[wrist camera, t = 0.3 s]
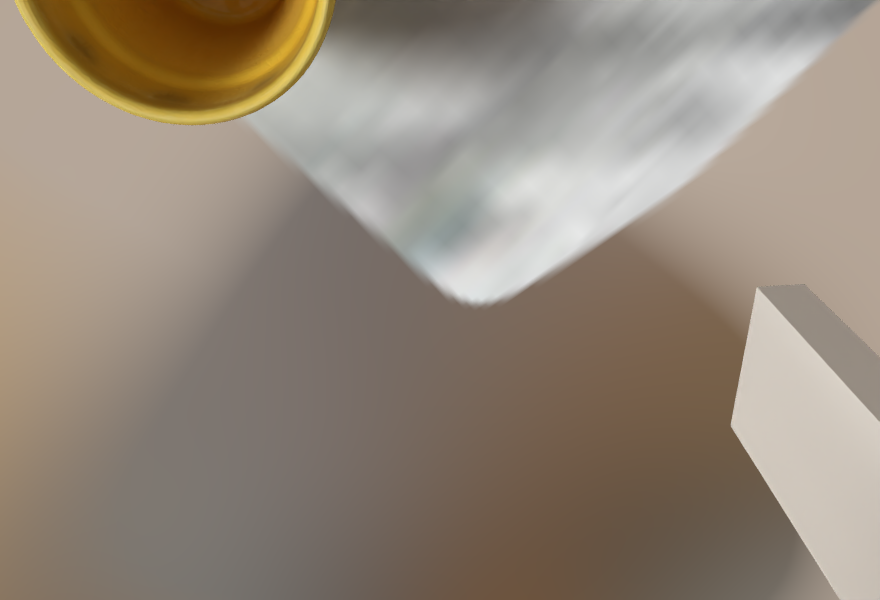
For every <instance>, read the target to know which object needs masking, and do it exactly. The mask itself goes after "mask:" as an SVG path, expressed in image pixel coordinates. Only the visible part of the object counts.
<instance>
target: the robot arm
mask: <svg viewBox="0 0 880 600" xmlns="http://www.w3.org/2000/svg"><path fill="white" fill-rule="evenodd" d="M731 427H732V428H733V430H734V432H735V433H736V435H737V436H738V438H739V439H740V441H741V443H742V444H743V446H744V448H745V449H746V451H747V452H748V454H749V456H750V457H751V459H752V460H753V462H754V463H755V465H756V467H757V468H758V470H759V471H760V473H761V475H762V476H763V478H764V479H765V481H766V482H767V484H768V486H769V487H770V489H771V491H772V492H773V494H774V495H775V497H776V499H777V500H778V502H779V503H780V505H781V507H782V508H783V510H784V511H785V513H786V515H787V516H788V517H789V519H790V521H791V523H792V524H793V526H794V527H795V529H796V530H797V532H798V534H799V535H800V537H801V538H802V540H803V541H804V543H805V545H806V546H807V548H808V549H809V551H810V553H811V554H812V556H813V557H814V559H815V561H816V562H817V564H818V566H819V567H820V569H821V570H822V572H823V574H824V575H825V577H826V578H827V580H828V581H829V583H830V584H831V586H832V588H833V589H834V591H835V593H836V594H837V596H838V597H839V599H840V600H880V357H879V356H878V355H877V354H876V353H875V352H874V351H873V350H872V349H871V348H870V347H868V345H867V344H866V343H865V342H864V341H862V340H861V339H860V338H859V337H858V336H857V335H856V334H855V333H854V332H853V331H852V330H851V329H850V328H849V327H848V326H847V325H846V324H845V323H844V322H843V321H841V319H840V318H839V317H838V316H837V315H835V313H834V312H833V311H832V310H831V309H829V308H828V307H827V306H826V305H825V304H824V303H823V302H822V301H821V300H820V299H819V298H818V297H817V296H816V295H815V294H814V293H813V292H812V291H811V290H810V289H809V288H808V287H807V286H806V285H805V284H800V285H782V286H766V287H757V290H756V295H755V301H754V306H753V311H752V316H751V321H750V327H749V332H748V337H747V342H746V348H745V353H744V358H743V363H742V369H741V374H740V380H739V385H738V390H737V395H736V400H735V406H734V411H733V416H732V421H731Z"/></svg>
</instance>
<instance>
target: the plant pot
mask: <svg viewBox="0 0 880 600" xmlns="http://www.w3.org/2000/svg"><path fill="white" fill-rule="evenodd" d="M335 1H336V0H15V3H16V5H17V7H18V9H19V11H20V13H21V15H22V17H23V18H24V20H25V22H26V24H27V26H28V27H29V29H30V30H31V32H32V33H33V35H34V36H35V38H36V39H37V41H38V42H39V43H40V45H41V46H42V47H43V48H44V50H45V51H46V52H47V54H48V55H49V56H50V57H51V58H52V59H53V60H54V61H55V63H57V64H58V66H59V67H60V68H61V69H62V70H64V71H65V72H66V73H67V74H68V75H69V76H70V77H71V78H72V79H74V80H75V81H76V82H77V83H78V84H80V85H81V86H82V87H84V88H85V89H87V90H88V91H89V92H91V93H92V94H94V95H95V96H97V97H98V98H100V99H102V100H104V101H105V102H107V103H109V104H111V105H113V106H115V107H117V108H119V109H121V110H123V111H126V112H128V113H130V114H133V115H136V116H139V117H143V118H146V119H149V120H153V121H158V122H163V123H170V124H180V125H181V124H182V125H205V124H215V123H220V122H226V121H230V120H234V119H237V118H240V117H243V116H246V115H248V114H251V113H254V112H256V111H258V110H260V109H261V108H263V107H265V106H267V105H268V104H270V103H272V102H273V101H275V100H276V99H278V98H279V97H280V96H282V95H283V94H284V93H285V92H286V91H288V90H289V89H290V88H291V87H292V86H293V85H294V84H295V83H296V82H297V81H298V80H299V79H300V78H301V76H302V75H303V74H304V73H305V72H306V70H307V69H308V67H309V66H310V65H311V63H312V61H313V60H314V58H315V56H316V55H317V53H318V51H319V49H320V47H321V45H322V43H323V41H324V39H325V36H326V34H327V31H328V28H329V26H330V22H331V19H332V15H333V11H334V6H335Z"/></svg>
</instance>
